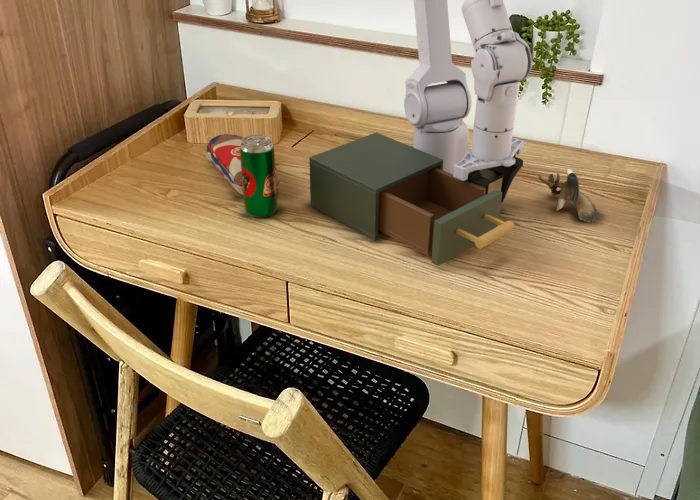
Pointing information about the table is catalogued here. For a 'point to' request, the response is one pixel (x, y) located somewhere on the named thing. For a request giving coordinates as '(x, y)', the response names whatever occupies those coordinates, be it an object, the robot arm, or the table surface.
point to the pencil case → (229, 159)
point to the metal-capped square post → (492, 179)
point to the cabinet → (363, 178)
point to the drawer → (441, 215)
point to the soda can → (258, 175)
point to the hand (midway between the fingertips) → (483, 207)
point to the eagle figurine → (571, 195)
